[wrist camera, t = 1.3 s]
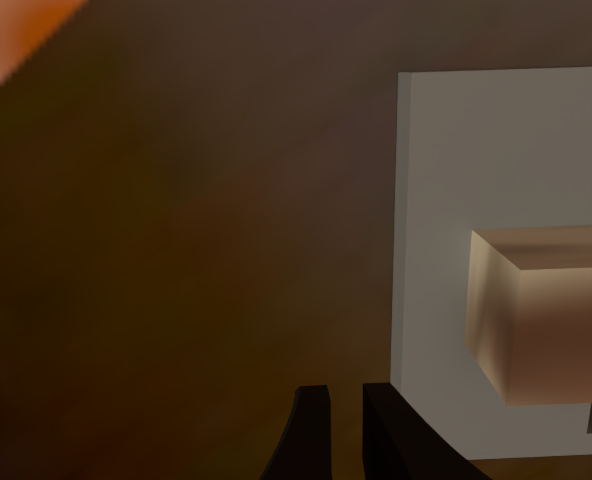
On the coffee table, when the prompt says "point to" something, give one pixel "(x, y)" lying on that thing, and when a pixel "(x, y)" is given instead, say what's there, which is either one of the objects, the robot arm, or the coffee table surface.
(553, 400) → the maple block
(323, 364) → the coffee table surface
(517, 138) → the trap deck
